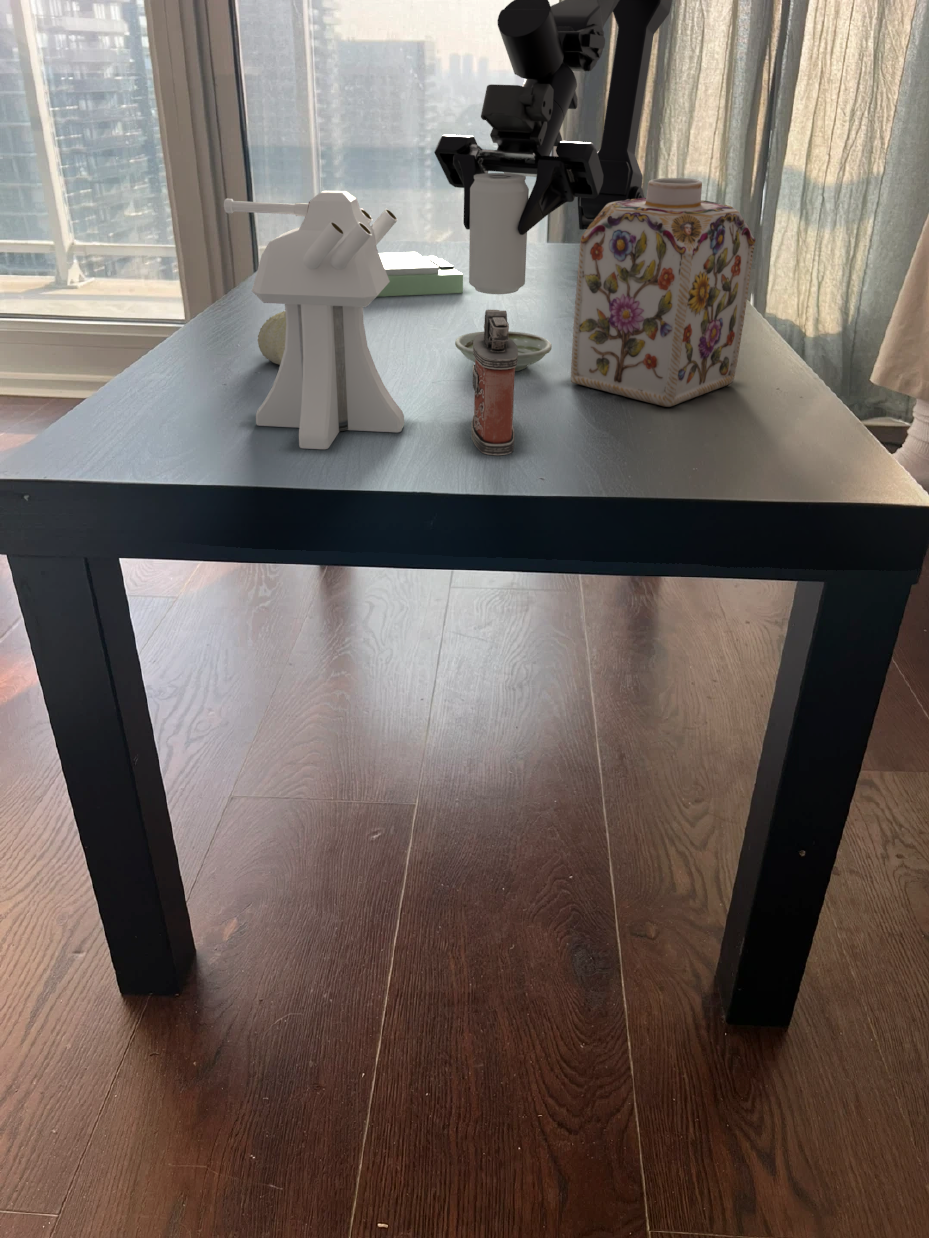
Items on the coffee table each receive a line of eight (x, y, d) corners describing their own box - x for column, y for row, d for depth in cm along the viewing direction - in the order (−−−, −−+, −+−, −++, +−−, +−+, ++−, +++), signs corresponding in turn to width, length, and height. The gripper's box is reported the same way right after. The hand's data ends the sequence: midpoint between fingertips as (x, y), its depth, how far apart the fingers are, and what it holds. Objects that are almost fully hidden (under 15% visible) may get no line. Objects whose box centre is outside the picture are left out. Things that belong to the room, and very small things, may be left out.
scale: (434, 273, 141) (434, 250, 139) (462, 293, 129) (463, 267, 128) (324, 277, 137) (323, 253, 135) (343, 298, 125) (342, 272, 124)
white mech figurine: (265, 399, 88) (247, 180, 79) (413, 406, 86) (410, 185, 78) (224, 444, 77) (196, 198, 68) (390, 452, 76) (384, 203, 67)
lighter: (467, 422, 83) (469, 301, 78) (506, 422, 83) (511, 301, 78) (476, 455, 76) (479, 324, 71) (519, 455, 76) (525, 324, 71)
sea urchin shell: (368, 332, 101) (342, 286, 94) (347, 400, 100) (320, 358, 92) (289, 324, 104) (258, 278, 97) (268, 390, 102) (234, 348, 95)
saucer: (534, 383, 93) (536, 358, 92) (440, 372, 96) (440, 347, 95) (561, 359, 101) (563, 335, 100) (473, 349, 104) (474, 326, 103)
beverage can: (525, 284, 114) (530, 172, 108) (523, 296, 109) (528, 179, 103) (471, 283, 115) (473, 171, 109) (466, 294, 109) (467, 177, 103)
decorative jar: (737, 384, 94) (769, 181, 85) (671, 410, 87) (698, 190, 78) (634, 361, 101) (653, 170, 92) (564, 383, 94) (578, 178, 85)
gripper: (442, 52, 107) (391, 172, 104) (602, 55, 99) (552, 184, 96) (475, 129, 117) (429, 240, 114) (622, 136, 109) (577, 256, 106)
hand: (492, 229), depth 107 cm, fingers closed on beverage can, 6 cm apart
